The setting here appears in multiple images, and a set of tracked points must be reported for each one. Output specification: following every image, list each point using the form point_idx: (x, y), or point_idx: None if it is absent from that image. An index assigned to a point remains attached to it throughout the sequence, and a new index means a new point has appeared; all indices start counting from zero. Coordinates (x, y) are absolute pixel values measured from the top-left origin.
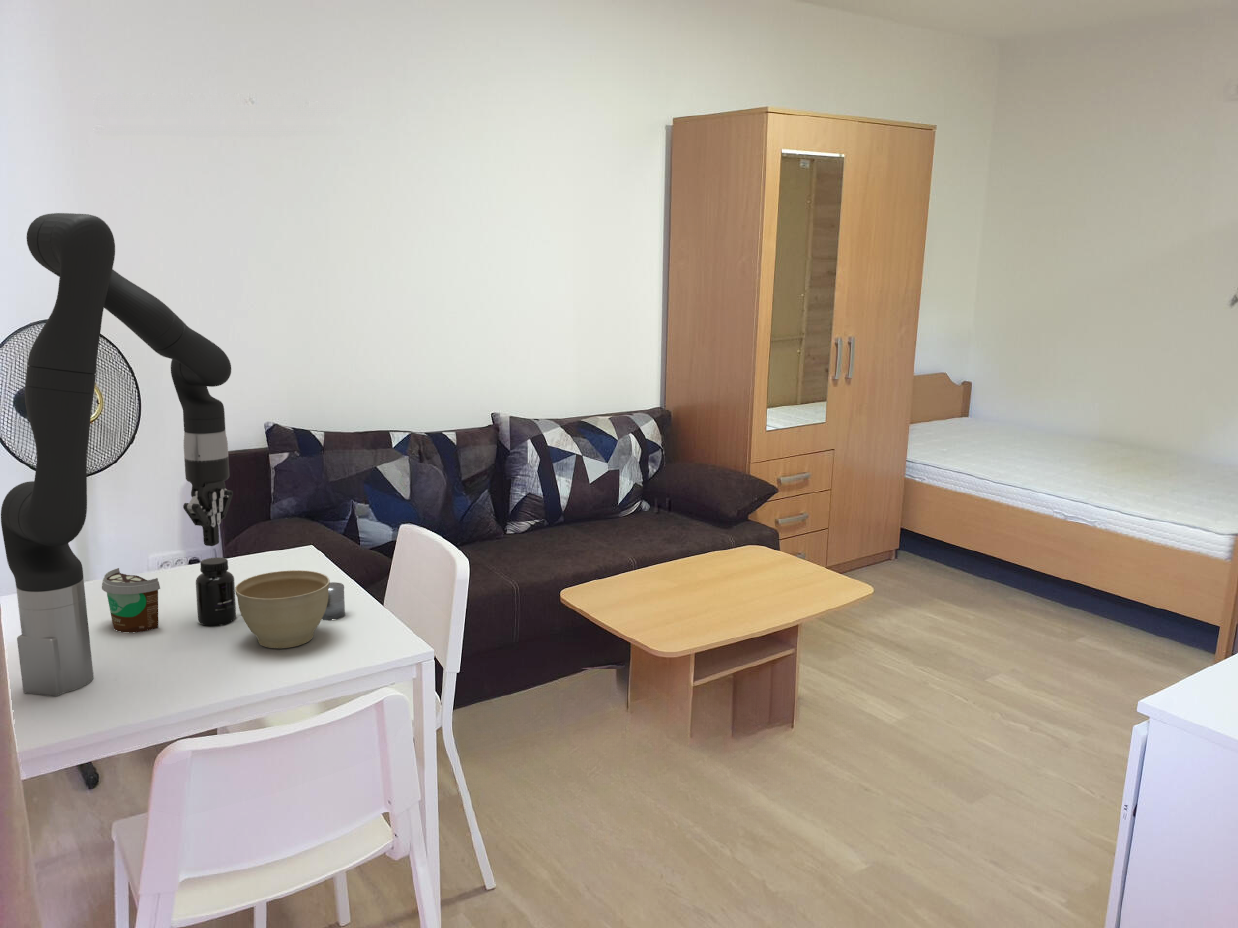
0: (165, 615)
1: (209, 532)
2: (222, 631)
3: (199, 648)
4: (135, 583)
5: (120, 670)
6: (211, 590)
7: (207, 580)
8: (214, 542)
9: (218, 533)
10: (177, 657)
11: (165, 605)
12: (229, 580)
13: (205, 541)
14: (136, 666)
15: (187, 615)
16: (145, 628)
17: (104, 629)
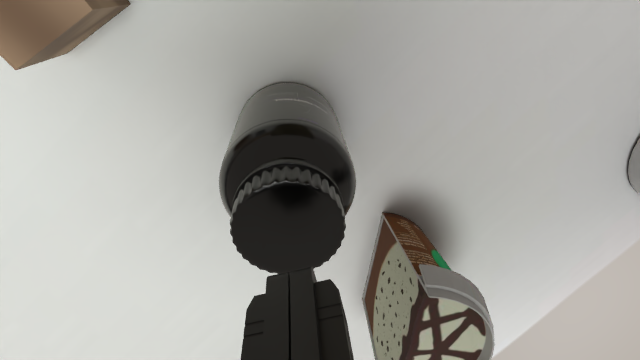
0: None
1: (346, 341)
2: (345, 54)
3: (468, 18)
4: (479, 311)
5: (620, 91)
6: (343, 143)
7: (347, 175)
8: (312, 277)
9: (264, 323)
10: (533, 26)
11: None
12: (280, 126)
13: (343, 311)
14: (596, 76)
15: None
16: (411, 222)
17: None
